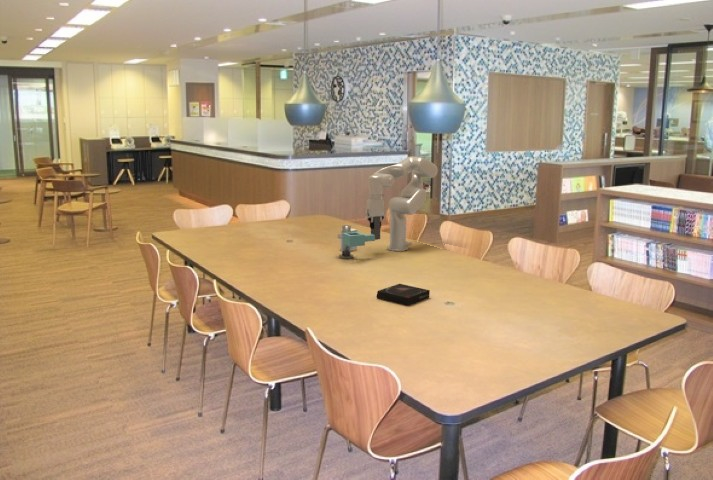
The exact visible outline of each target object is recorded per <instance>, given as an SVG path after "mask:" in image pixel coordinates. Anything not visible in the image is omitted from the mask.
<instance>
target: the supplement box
mask: <svg viewBox="0 0 713 480" xmlns="http://www.w3.org/2000/svg"><path fill="white" fill-rule="evenodd" d="M351 232H358V228H357V229H356V228H351ZM340 234H342V229H340ZM339 244H340V245H339V246H340V247H339V249H340V251H342V239H340V243H339ZM357 250H358V246H354V247H351V248H350V252H353V251H357Z"/></svg>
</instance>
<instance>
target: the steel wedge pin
mask: <svg viewBox="0 0 713 480" xmlns="http://www.w3.org/2000/svg"><path fill="white" fill-rule="evenodd" d="M373 222H374V229H371V228H370V234H373V235H375V241H377V240H381V228H380V216H374V218H373Z"/></svg>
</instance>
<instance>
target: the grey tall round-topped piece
mask: <svg viewBox="0 0 713 480" xmlns="http://www.w3.org/2000/svg"><path fill="white" fill-rule="evenodd" d="M351 227H352V226H351V225H350V224H349V225H348V224H345V225H344V224H343V225H342V227H341V230H342V233H350V232H351V229H352V228H351ZM337 239H340V240H341V239H342V234H341V233H339V234H337ZM350 248H351V247H349V246H347V245H344V244H342V250H341V254H339V256H338V257H339V258H340V259H342V260H345V259H346V260H349V259H353V258H354V254H351V251H350Z"/></svg>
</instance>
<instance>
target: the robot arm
mask: <svg viewBox="0 0 713 480" xmlns="http://www.w3.org/2000/svg"><path fill="white" fill-rule="evenodd" d="M438 172H439V168H438V166H437V165H436V164H435V163H434V162H432V161H431V160H429V159H427V158H425V157H424V156H413V155H412V156H407V157H406V158H404V159H402V160H400V161H399V162H398V163H396V164H393V165H389V166H386V167H384V168H380V169H379V170H377V171H375V172H374V173H373V174H372V175H369V177H368V199H367V200H366V207H365V215H364V218H365V219H366V220H367V221H368V222H369V228H370V230H371V229H374V222H373V218H374V216H380V229H382V222H383V220H384V219H385V218H386V217H387V213H386V211H385V203H384V198H383V197H384V196H385V195H384V194H383V188H391V187H392V186H393V185H394V184H395V181H396V180H395V179H400V178H404V177H405V176H407V175H408V174H410V173H411V180H410V181H409V182H408V184H407V185H406V186H405V187H404V188H403V189H402V190H401V193H400V196H394V197H392V198H391V199H390V200H389V202H388V209H389V214H390V217H389V218H390V220H389V221H390V222H389V224H390V225H389V245H388V246H387V247H386V249H387V250H388V251H393V252H405V250H406V251H408V249H409V247H408V246H413V242H412V241H411V242H410V241H407V240H406V239H407V237H406V236H407V235H406V233H407V218H406V215H408V216H409V215H414V214H415V213H416V212H417V211H418V210H420V209H421V208H420V207H422V205H424V203H425V202H426V201H427V200H426V199H427V190H425V189H424V182H423V178H427V179H434V178H435V177H436V176H437V175H438Z"/></svg>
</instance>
